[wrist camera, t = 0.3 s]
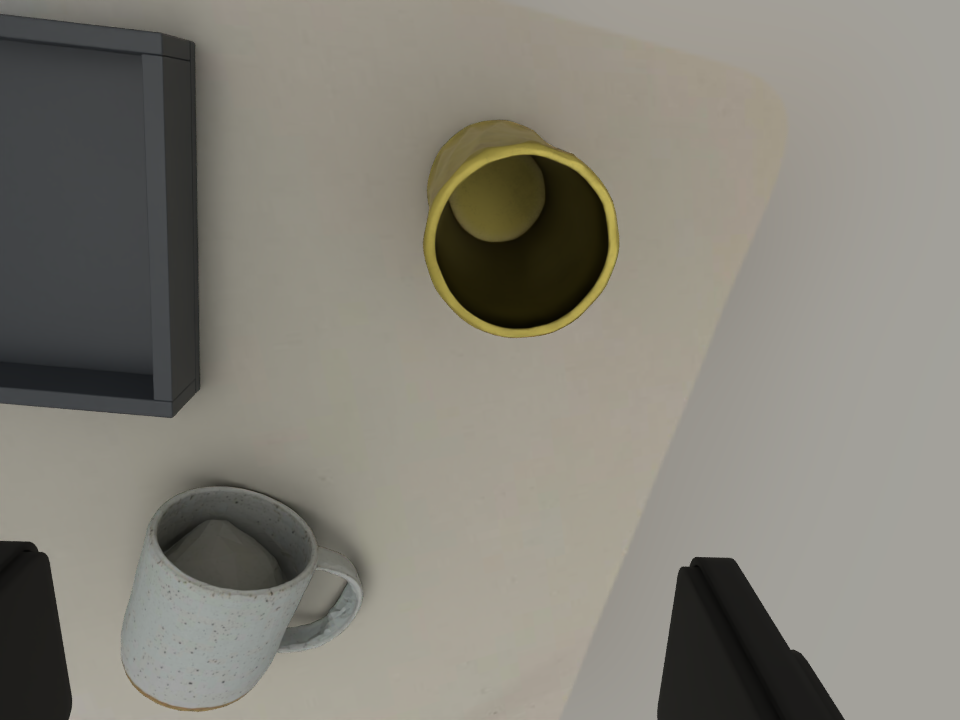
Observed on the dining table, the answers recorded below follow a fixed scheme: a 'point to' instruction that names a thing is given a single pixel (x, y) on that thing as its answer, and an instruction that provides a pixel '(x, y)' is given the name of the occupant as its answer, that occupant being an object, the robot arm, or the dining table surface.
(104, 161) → the tray
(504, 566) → the dining table surface
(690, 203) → the dining table surface
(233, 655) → the ceramic mug
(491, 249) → the vase
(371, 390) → the dining table surface
